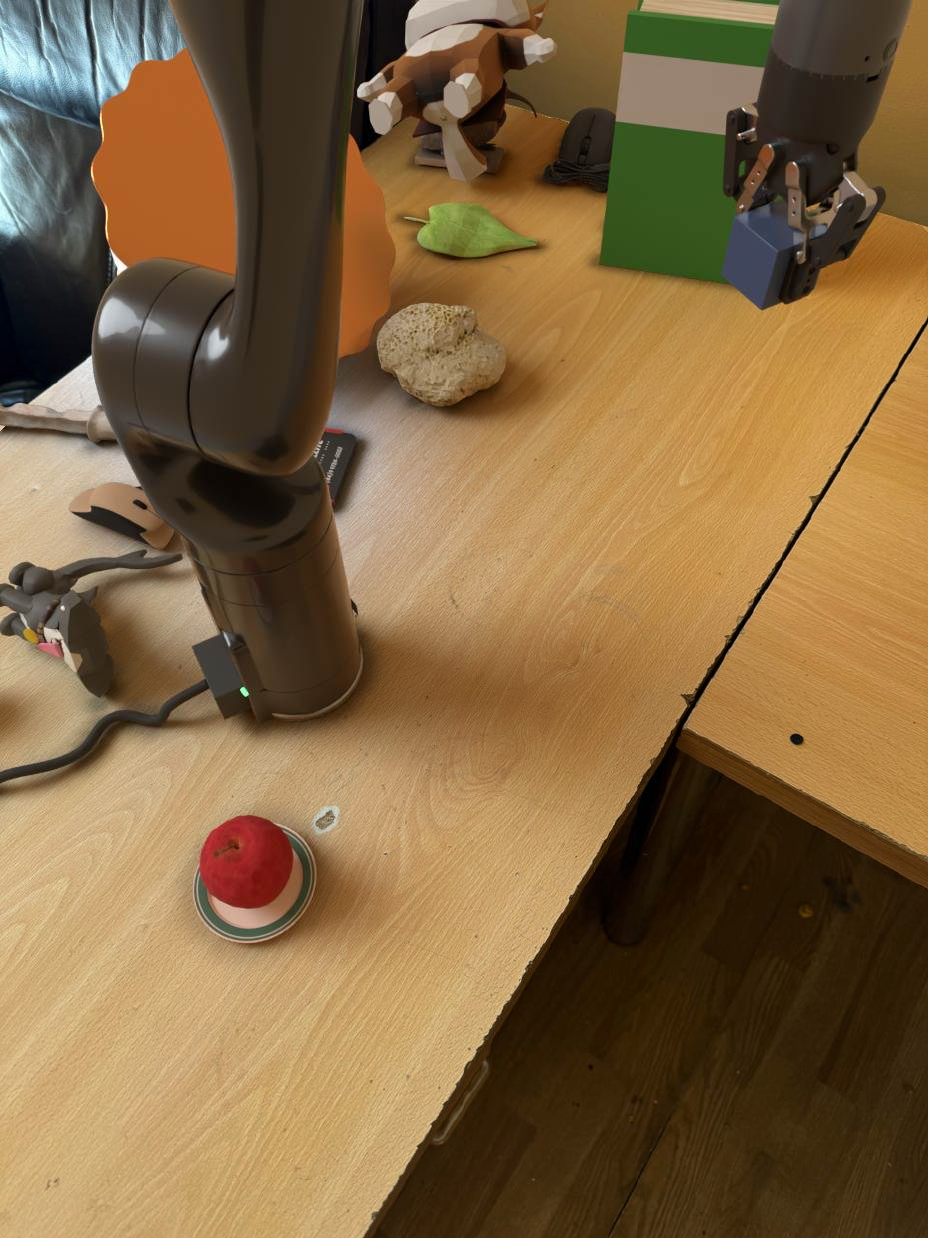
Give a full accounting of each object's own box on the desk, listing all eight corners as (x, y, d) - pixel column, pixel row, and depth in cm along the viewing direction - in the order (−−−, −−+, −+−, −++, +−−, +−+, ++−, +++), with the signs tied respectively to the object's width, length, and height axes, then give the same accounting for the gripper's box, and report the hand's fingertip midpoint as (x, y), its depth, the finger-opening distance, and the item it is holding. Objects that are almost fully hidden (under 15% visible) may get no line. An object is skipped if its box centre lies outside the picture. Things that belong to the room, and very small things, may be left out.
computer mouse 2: (640, 128, 115) (644, 96, 112) (628, 195, 107) (632, 162, 103) (558, 122, 116) (560, 89, 113) (540, 187, 108) (541, 154, 105)
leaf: (418, 201, 106) (416, 185, 105) (546, 230, 102) (546, 213, 100) (383, 249, 102) (380, 233, 101) (515, 280, 98) (515, 264, 96)
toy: (288, 49, 93) (390, -23, 113) (351, 232, 105) (434, 137, 125) (509, -10, 84) (579, -78, 104) (551, 197, 96) (606, 101, 116)
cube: (761, 311, 70) (778, 251, 66) (720, 275, 72) (734, 215, 68) (814, 289, 71) (834, 230, 67) (772, 255, 74) (788, 195, 70)
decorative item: (356, 386, 82) (368, 282, 84) (384, 425, 91) (394, 330, 93) (491, 385, 80) (501, 278, 82) (507, 426, 88) (515, 328, 90)
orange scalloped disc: (358, 74, 89) (270, 160, 103) (55, 20, 71) (-1, 132, 85) (421, 369, 91) (327, 414, 105) (142, 386, 74) (74, 437, 88)
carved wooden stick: (264, 438, 85) (257, 416, 83) (251, 468, 83) (244, 446, 81) (11, 406, 88) (-2, 384, 86) (-8, 435, 86) (-21, 413, 84)
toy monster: (-88, 531, 62) (22, 571, 59) (112, 529, 79) (207, 560, 75) (-111, 734, 65) (-7, 784, 61) (87, 691, 81) (177, 728, 78)
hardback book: (599, 264, 99) (627, 13, 80) (612, 224, 103) (642, -23, 84) (768, 289, 96) (841, 36, 77) (775, 248, 100) (846, -3, 81)
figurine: (538, 157, 111) (542, 81, 104) (531, 178, 109) (534, 101, 102) (425, 144, 113) (421, 68, 106) (414, 164, 111) (410, 87, 104)
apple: (170, 914, 60) (140, 879, 55) (236, 808, 64) (214, 765, 59) (278, 966, 58) (257, 934, 53) (339, 852, 62) (325, 812, 57)
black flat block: (330, 510, 79) (273, 502, 80) (331, 515, 80) (275, 507, 80) (359, 432, 84) (306, 425, 85) (360, 438, 85) (307, 431, 86)
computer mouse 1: (112, 467, 83) (97, 433, 80) (207, 503, 80) (195, 470, 77) (64, 517, 80) (46, 484, 76) (161, 557, 77) (147, 525, 74)
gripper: (713, 8, 60) (671, 245, 74) (867, 107, 53) (789, 349, 67) (806, -19, 62) (748, 217, 76) (967, 73, 55) (870, 315, 69)
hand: (767, 278), depth 71 cm, fingers closed on cube, 5 cm apart
